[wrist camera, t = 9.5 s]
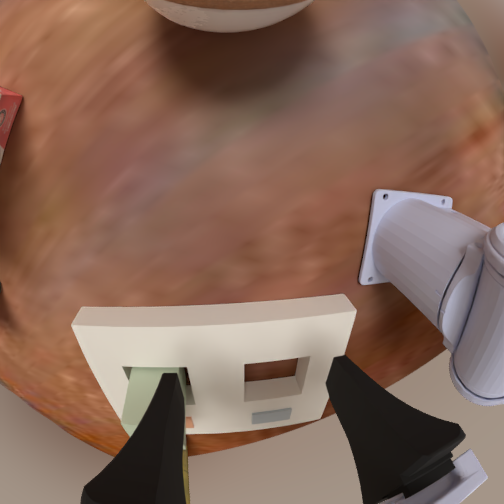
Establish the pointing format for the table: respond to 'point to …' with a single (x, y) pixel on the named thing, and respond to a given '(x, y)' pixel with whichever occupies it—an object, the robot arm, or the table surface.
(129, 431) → the peg
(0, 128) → the ink cartridge box
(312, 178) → the table surface
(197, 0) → the lidded jar
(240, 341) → the slot board
